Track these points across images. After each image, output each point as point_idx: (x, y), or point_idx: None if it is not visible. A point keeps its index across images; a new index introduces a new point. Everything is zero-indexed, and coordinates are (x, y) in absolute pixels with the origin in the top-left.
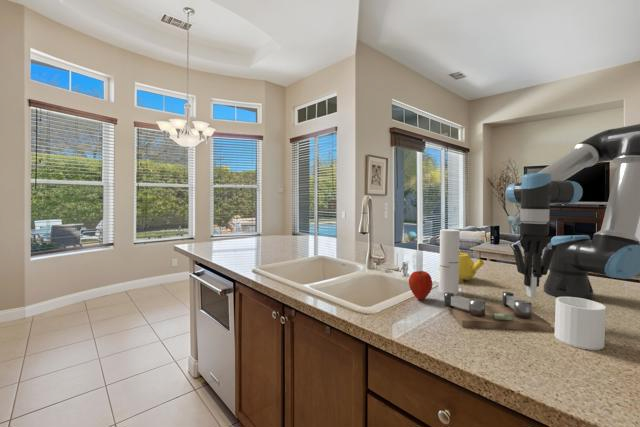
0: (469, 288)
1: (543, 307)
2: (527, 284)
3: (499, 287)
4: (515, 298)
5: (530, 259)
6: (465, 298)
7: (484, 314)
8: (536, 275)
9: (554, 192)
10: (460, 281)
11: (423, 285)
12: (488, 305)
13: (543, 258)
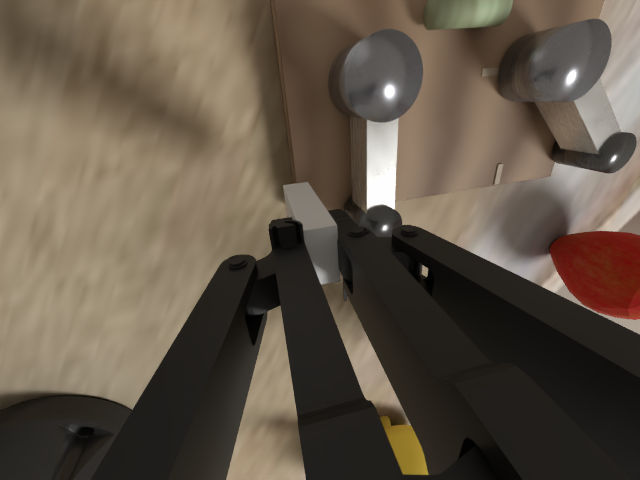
0: (377, 381)
1: (203, 283)
2: (339, 213)
3: (284, 420)
4: (380, 161)
5: (425, 325)
6: (589, 109)
7: (517, 42)
8: (302, 243)
9: None
10: (382, 421)
11: (635, 238)
12: (427, 193)
13: (227, 433)
